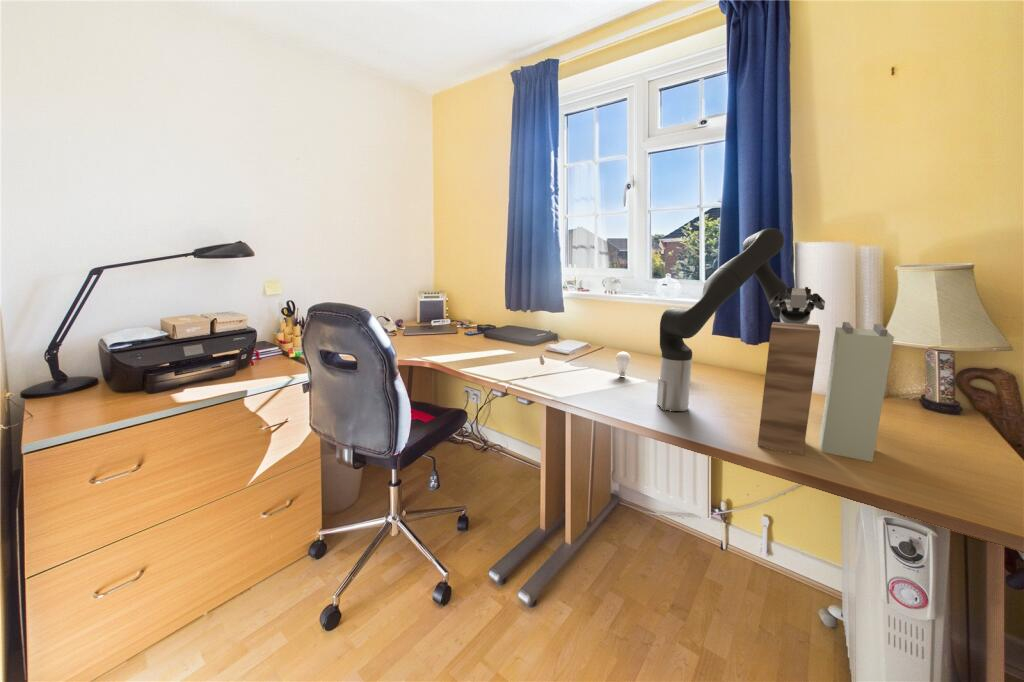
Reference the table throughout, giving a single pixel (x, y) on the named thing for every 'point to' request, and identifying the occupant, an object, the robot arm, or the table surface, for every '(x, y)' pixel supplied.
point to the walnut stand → (788, 386)
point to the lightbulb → (622, 362)
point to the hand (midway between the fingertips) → (798, 289)
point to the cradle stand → (855, 391)
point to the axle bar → (798, 298)
